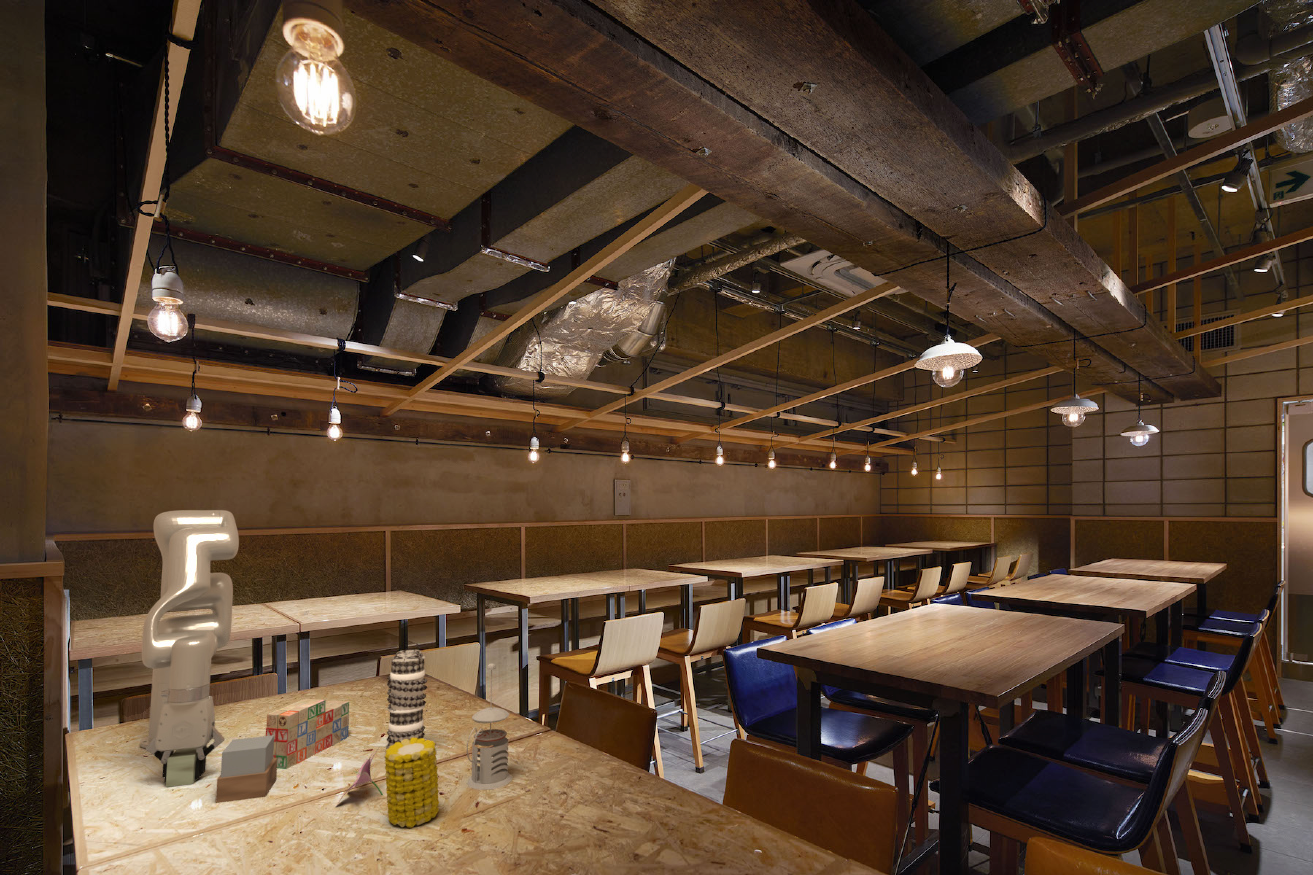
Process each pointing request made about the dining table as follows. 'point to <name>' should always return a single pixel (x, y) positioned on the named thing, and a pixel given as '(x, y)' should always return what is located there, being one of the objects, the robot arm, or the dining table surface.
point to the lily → (363, 775)
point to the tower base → (246, 785)
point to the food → (411, 782)
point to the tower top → (247, 756)
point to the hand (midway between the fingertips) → (183, 777)
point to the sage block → (181, 767)
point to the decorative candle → (406, 696)
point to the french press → (489, 750)
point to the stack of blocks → (306, 729)
